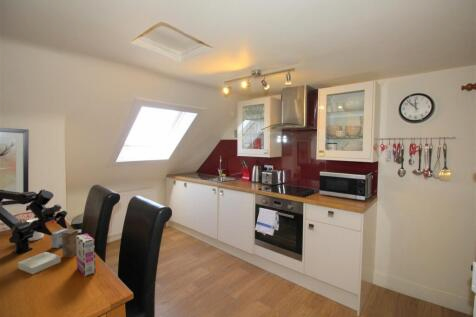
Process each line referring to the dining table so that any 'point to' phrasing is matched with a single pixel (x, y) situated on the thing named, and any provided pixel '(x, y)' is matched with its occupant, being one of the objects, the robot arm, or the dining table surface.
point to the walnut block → (69, 243)
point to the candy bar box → (85, 254)
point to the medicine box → (57, 238)
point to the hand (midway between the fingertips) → (59, 231)
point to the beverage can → (36, 234)
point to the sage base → (39, 262)
